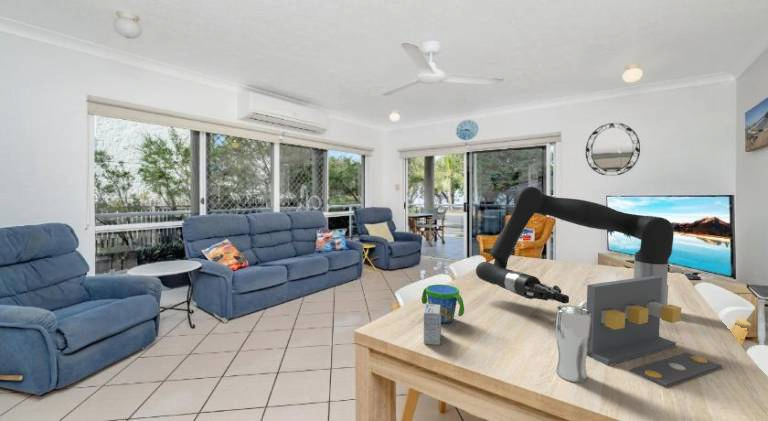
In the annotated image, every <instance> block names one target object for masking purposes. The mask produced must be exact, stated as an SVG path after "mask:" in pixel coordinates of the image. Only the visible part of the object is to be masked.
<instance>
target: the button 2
mask: <svg viewBox="0 0 768 421" xmlns="http://www.w3.org/2000/svg"><path fill="white" fill-rule="evenodd" d="M646 308H648V314H649V315H653V316H656V317H659V318H660V321H664V322H668V323H670V324H674V323H678V322H681V321H682V318H681V317H682V306H677V305H673V304H667V305H665V304H661V303H658V302H654V301H647V302H646Z"/></svg>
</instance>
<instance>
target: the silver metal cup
mask: <svg viewBox="0 0 768 421" xmlns="http://www.w3.org/2000/svg"><path fill="white" fill-rule="evenodd" d="M556 309H557V310H556V316H555V317H556V318H555V337H556V343H557V350H558V362H557V366H556V371H555V372H556V374H557V375H558V377H560V378H561V379H563V380H565V381H568V382H572V383H577V384H578V383H579V384H580V383H585V382H587V380H588V374H587V367H586V366H587V365H586V364H587V363H586V361H587V357H588V356H587V353H588V349H589V345H590V341H591V332H592V325H591V312H590V311H589V310H587V309H584V308H581V307H578V306H577V305H571V304H570V305H568V304H565V305H564V304H563V305H558V306H557V308H556Z"/></svg>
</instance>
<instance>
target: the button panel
mask: <svg viewBox="0 0 768 421" xmlns="http://www.w3.org/2000/svg"><path fill="white" fill-rule="evenodd" d="M661 288H662V277H658V276H648V277H640V278H634V277H632V278H627V279H620V280H613V281H606V282H605V281H604V282H598V283H592V284H587V289H586V291H587V292H586V302H587V310H589V311H590V312H591V325H592V332H591V341H590V345H589V349H588V353H587V357H588V358H591V359H593V360H595V361H597V362H600V363H601V364H604V365H605V366H608V367H609V366H613V365H615V364H619V363H622V362H626V361H630V360H634V359H636V358H641V357H644V356H647V355H651V354H655V353H658V352H662V351H666V350H669V349H673V348H676V347H677V343H676V341H673V340H670V339H667V338H664V337H662V336H661V337H660V325H661V324H660V323H661V322H660V321H661V318H659V317H656V316H653V315H649V314H648V322H647V323H643V324H636V323H633V322H630V321H628V319H626V318H625V328H620V329H616V330H615V329H612V328H609V327H607V326H605V324H603V323H601V310H603V309H609V310H617V311H620V312H624V310H625V305H633V306H641V307H645V308H646V302H647V301H654V302H658V303H661Z"/></svg>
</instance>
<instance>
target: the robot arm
mask: <svg viewBox="0 0 768 421" xmlns="http://www.w3.org/2000/svg"><path fill="white" fill-rule="evenodd" d="M513 203H514V208H513V211H512V212H511V215H510V217H509V220H508V221H507V222H506V224H505V225H504V227H503V229H502V230H501V231H500V233H499V234H498V236H497V238H496V240H495V242H494V243H493V245H492V247H491V249H490V251H489V254H490V255H489V256H491V257H492V258H493V259H494V262H493V263H491V262H488V261H483V262H482V261H481V262H480V263H478V264H477V266H476V268H475V273H476V276H477V277H478V278H479V279H480V280H482V281H485V282H487V283H489V284H491V285H497V286H498V287H500V288H502V289H504V290H507V291H510V292H511V293H514V294H515V295H518V296H520V297H523V298H525V299H528V300H533V299H535V300H542V301H549V300H550V301H551V302H552V301H555V302H558V303H561V304H563V305H564V304H565V305H566V304H569V302H570V297H569V295H567V294H564V293H562V289H561V288H560V287H559V286H558V285H553V286H549V285H547V284H546V283H543V282H541V281H540V279H539V278H538V277H537V276H534V275H531V274H527V273H524V272H521V271H514V270H511V269H508V268H507V266H508V262H509V261H508V260H509V259H510V256H511V254H512V253H513V251H514V249H515V247H516V245H517V243H518V242H519V239H520V237H521V235H522V233H523V232H524V229H525V228H526V226H527V225H528V223H529V222H530V220H531V219H532V217H533V216H534V215H535V214H539V215H540V214H541V215H545V216H550V217H553V218H556V219H559V220H561V221H563V222H564V221H565V222H568V223H570V224H571V223H572V224H575V225H577V226H583V227H586V228H591V229H596V230H602V231H613V232H618V233H620V234H624V235H627V236H630V237H633V238H635V239H638V240H640V248H639V249H638V251H636V252H635V254H634V264H633V265H634V267H633V268H634V269H633V278H640V277H648V276H658V277H662V288H661V304H665V305H668V298H669V284H668V272H669V259H670V258H671V256H672V253H673V246H674V244H673V243H674V236H675V234H674V233H675V232H674V226H673V224H672V223H671V221H670V220H668V219H667V218H664V217H660V216H652V215H641V214H640V215H639V214H635V213H628V212H623V211H619V210H616V209H614V208H612V207H609V206H608V205H607V206H606V205H603V204H600V203H597V202H593V201H589V200H585V199H584V200H583V199H577V198H567V197H558V196H557V197H556V196H552V195H551V196H550V195H548V194H544V193H542V191H541V190H540V189H539V188H537V187H534V186H526V187H523V188H521V189H519V190H518V191H517V192H516V193H515V195H514V196H513Z"/></svg>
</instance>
